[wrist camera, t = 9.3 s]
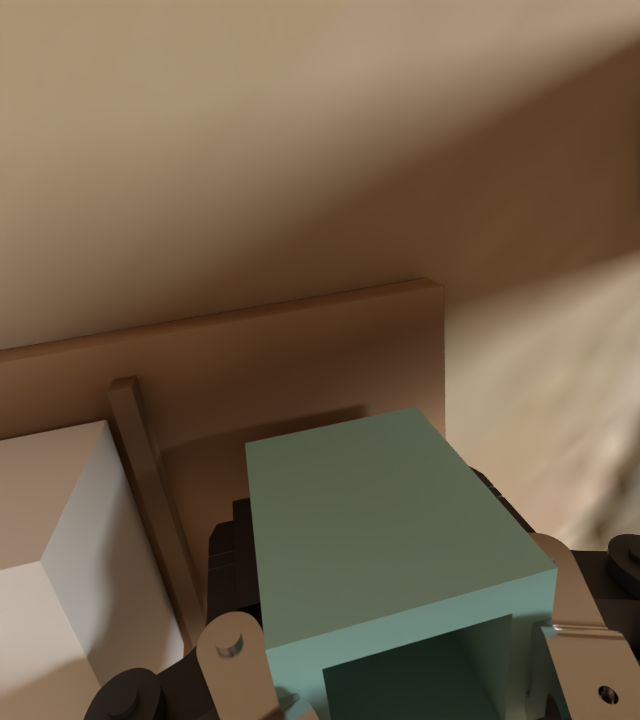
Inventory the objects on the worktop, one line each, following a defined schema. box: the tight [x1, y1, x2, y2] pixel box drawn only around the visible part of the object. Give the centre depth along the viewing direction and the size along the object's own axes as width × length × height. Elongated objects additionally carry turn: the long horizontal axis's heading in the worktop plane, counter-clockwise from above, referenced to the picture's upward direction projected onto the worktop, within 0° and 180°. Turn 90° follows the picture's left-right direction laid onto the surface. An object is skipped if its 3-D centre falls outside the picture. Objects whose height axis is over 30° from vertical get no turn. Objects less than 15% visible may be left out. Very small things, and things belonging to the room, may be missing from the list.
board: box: [0, 278, 445, 658], centre depth 13 cm, size 17×19×6 cm
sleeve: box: [245, 407, 558, 720], centre depth 11 cm, size 5×5×6 cm
